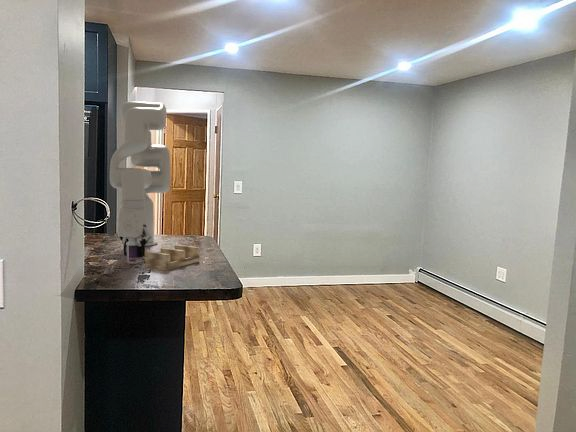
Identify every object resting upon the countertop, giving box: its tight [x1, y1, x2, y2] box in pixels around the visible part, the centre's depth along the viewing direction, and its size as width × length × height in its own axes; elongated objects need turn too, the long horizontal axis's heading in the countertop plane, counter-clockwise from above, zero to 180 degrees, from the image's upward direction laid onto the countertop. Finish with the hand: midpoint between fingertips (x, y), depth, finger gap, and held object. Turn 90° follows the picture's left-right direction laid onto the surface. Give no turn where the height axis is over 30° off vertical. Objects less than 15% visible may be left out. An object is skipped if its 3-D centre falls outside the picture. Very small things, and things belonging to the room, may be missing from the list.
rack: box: [144, 244, 200, 271], centre depth 162 cm, size 10×17×5 cm, turn 154°
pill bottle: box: [125, 238, 143, 265], centre depth 163 cm, size 5×5×10 cm
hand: (134, 255), depth 163 cm, fingers closed on pill bottle, 5 cm apart
